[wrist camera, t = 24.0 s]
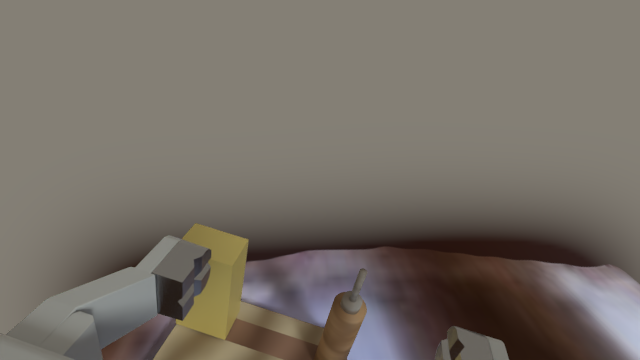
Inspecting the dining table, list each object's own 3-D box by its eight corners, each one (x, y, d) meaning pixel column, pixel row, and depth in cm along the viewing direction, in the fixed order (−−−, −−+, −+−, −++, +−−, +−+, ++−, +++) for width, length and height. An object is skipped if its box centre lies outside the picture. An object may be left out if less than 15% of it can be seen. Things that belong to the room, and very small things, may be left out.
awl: (342, 348, 41) (378, 260, 34) (343, 377, 39) (384, 288, 31) (314, 345, 41) (344, 255, 33) (314, 374, 38) (347, 283, 30)
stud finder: (225, 340, 39) (232, 266, 33) (175, 323, 40) (174, 247, 33) (239, 310, 43) (249, 238, 36) (194, 295, 43) (196, 222, 37)
